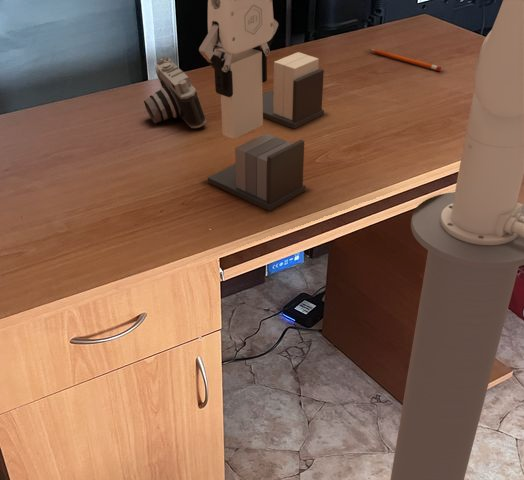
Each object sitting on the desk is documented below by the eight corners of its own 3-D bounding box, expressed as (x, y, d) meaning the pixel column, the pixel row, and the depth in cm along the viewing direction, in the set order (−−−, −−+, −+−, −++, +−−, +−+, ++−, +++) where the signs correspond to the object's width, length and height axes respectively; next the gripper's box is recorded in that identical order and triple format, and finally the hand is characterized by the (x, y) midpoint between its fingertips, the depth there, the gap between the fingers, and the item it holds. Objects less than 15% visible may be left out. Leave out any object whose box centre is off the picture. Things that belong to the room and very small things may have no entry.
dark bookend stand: (323, 114, 154) (327, 58, 147) (294, 129, 149) (295, 71, 142) (270, 95, 162) (271, 41, 154) (240, 108, 156) (239, 52, 149)
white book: (263, 125, 129) (262, 51, 121) (233, 139, 125) (230, 64, 118) (252, 121, 130) (250, 47, 123) (222, 134, 126) (218, 60, 119)
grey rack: (305, 191, 131) (307, 140, 125) (269, 211, 126) (269, 159, 120) (244, 164, 138) (243, 115, 132) (207, 182, 133) (205, 132, 127)
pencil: (438, 71, 171) (439, 67, 171) (367, 51, 181) (367, 47, 180) (440, 70, 172) (441, 66, 171) (369, 50, 181) (369, 46, 181)
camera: (142, 113, 158) (124, 67, 151) (180, 95, 159) (163, 49, 152) (169, 144, 147) (151, 97, 140) (209, 124, 149) (193, 76, 142)
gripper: (213, -18, 105) (219, 110, 116) (297, -44, 115) (295, 77, 126) (175, -27, 109) (184, 97, 120) (259, -52, 119) (261, 66, 130)
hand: (241, 86), depth 123 cm, fingers closed on white book, 7 cm apart
